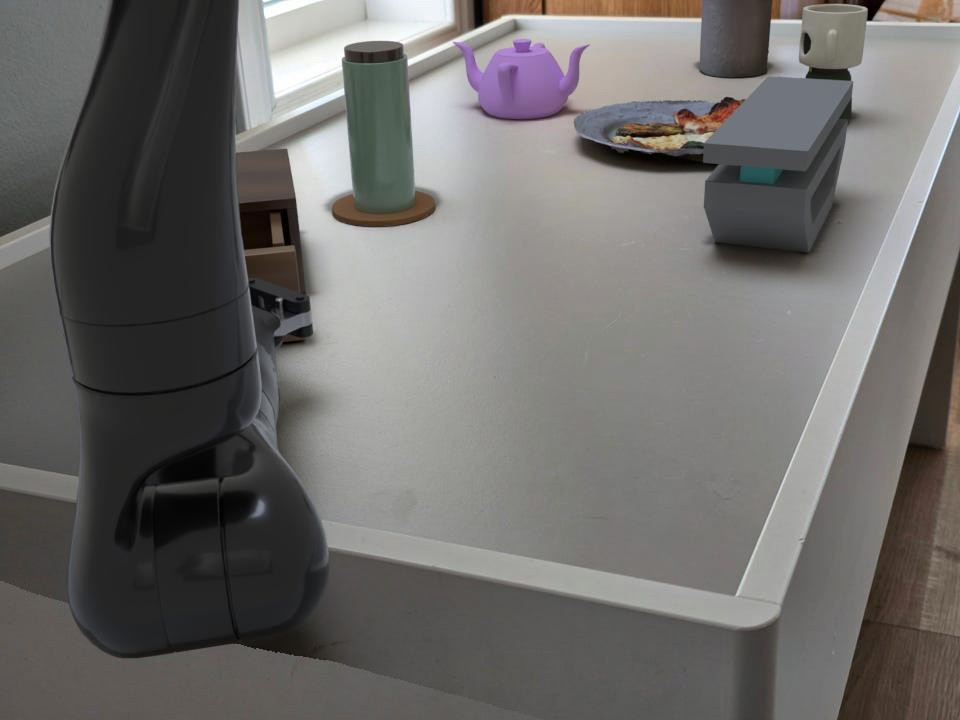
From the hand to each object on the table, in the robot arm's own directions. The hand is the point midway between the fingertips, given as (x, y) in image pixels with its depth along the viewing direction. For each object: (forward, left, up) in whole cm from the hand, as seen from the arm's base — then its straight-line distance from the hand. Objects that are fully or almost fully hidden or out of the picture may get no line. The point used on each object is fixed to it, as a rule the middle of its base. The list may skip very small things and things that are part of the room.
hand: (213, 275), depth 77 cm
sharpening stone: (+48, +14, -7) cm, 51 cm away
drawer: (0, +5, -6) cm, 7 cm away
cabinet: (0, +16, -7) cm, 18 cm away
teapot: (+37, +66, -7) cm, 76 cm away
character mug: (+70, +48, -7) cm, 85 cm away
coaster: (+15, +30, -7) cm, 35 cm away
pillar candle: (+71, +78, -7) cm, 106 cm away
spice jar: (+15, +30, -6) cm, 34 cm away
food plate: (+51, +44, -7) cm, 68 cm away
